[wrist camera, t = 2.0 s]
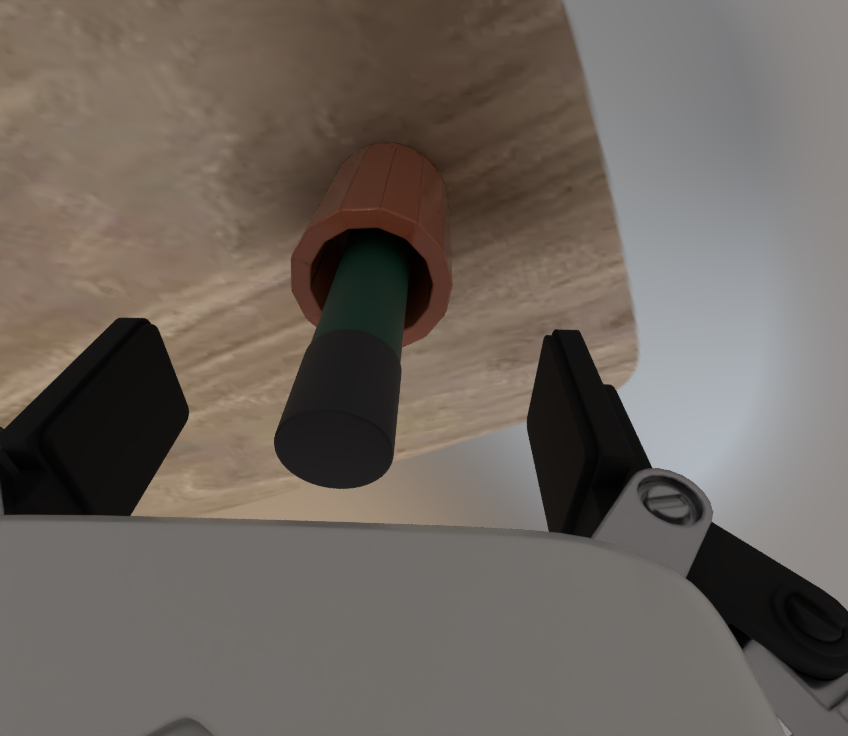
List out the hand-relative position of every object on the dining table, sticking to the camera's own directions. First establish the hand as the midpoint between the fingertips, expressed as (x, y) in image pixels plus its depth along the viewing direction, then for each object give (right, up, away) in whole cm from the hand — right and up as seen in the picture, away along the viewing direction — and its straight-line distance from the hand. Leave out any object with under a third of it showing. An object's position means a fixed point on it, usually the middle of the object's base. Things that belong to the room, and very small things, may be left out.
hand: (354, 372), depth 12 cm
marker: (0, +7, +8) cm, 10 cm away
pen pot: (0, +7, +8) cm, 11 cm away
